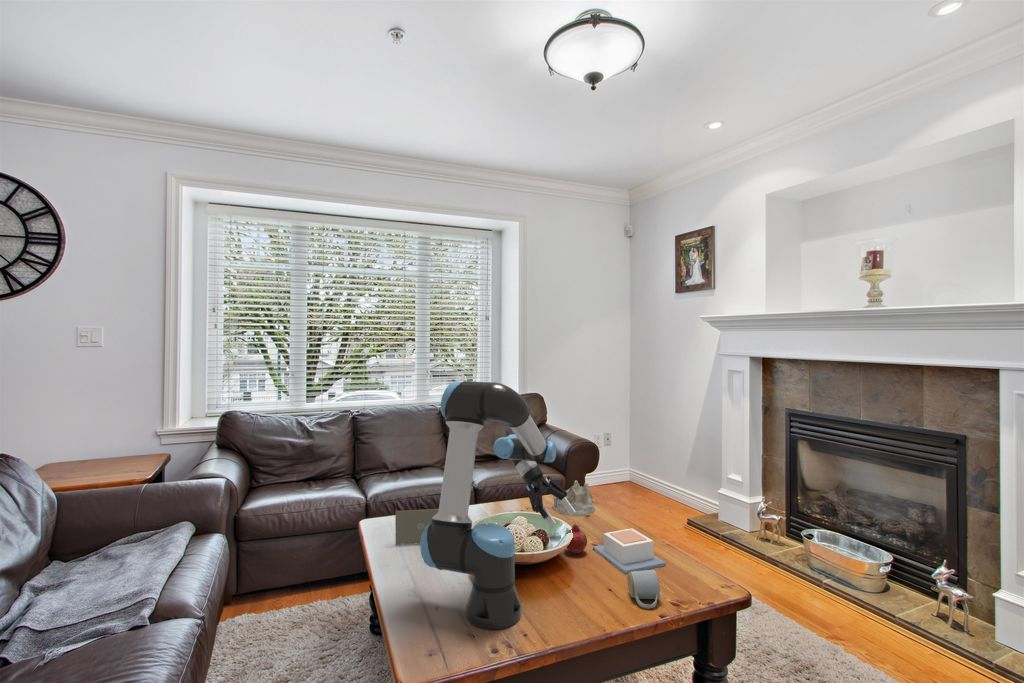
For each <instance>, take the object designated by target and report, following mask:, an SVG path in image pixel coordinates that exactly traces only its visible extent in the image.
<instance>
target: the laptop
mask: <svg viewBox="0 0 1024 683" xmlns="http://www.w3.org/2000/svg"><path fill="white" fill-rule="evenodd" d="M394 512H395V513H394V514H395V516H394V518H395V521H394V522H395V525H394V526H395V527H394V528H395V546H402V545H401V544H413V545H416V544H415V543H420V542H421V536H422V533H423V532H424V528H425V527H426V525H428V524H430V523H432V517H433V516H435V515H436V514H437V513H438V512H439V508H430V509H428V508H427V509H409V510H396V511H394Z"/></svg>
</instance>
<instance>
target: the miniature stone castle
mask: <svg viewBox="0 0 1024 683" xmlns="http://www.w3.org/2000/svg"><path fill="white" fill-rule="evenodd" d="M565 491H566V492H567V496H566V498H567V499H568V501H569V502H570V504H571V506H572V507H573V508H574V510H575V511H576V512H575V513H574V514H573V515H572V516H570V515H569V514H568V512H567V511H566V509H565V508H564V506H563V505H562V504H561V502H560V501H561V500H560V499H558V498H557V497H555V496H553V495H552V499H553V503H554V504H553V510H554V511H556V512H557V513H559V514H560V515H561V514H562V515H564V516H568V517H584V516H586V515H589V514H592V513H594V512H596V508H595V505H594V504H593V495H592V493H591V491H590V487H589V483H588V482H584V484H583V486H582V485H581V486H580V484H579V482H578V480H574V482H573V485H572V486H571V487H570V488H568V489H567V490H565Z"/></svg>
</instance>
